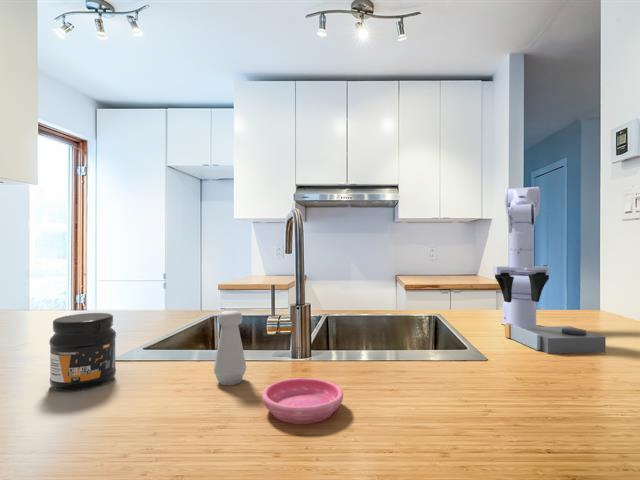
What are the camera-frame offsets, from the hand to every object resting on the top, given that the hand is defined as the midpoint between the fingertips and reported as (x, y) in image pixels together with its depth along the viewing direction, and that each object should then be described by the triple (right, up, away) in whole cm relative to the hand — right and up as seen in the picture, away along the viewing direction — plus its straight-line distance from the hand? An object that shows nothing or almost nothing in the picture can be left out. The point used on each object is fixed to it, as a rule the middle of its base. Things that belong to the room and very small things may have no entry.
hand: (521, 301), depth 102 cm
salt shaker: (-70, -10, -30) cm, 77 cm away
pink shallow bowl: (-56, -10, -42) cm, 71 cm away
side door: (-2, -10, -4) cm, 11 cm away
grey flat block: (+6, -10, -7) cm, 13 cm away
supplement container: (-97, -10, -30) cm, 102 cm away
